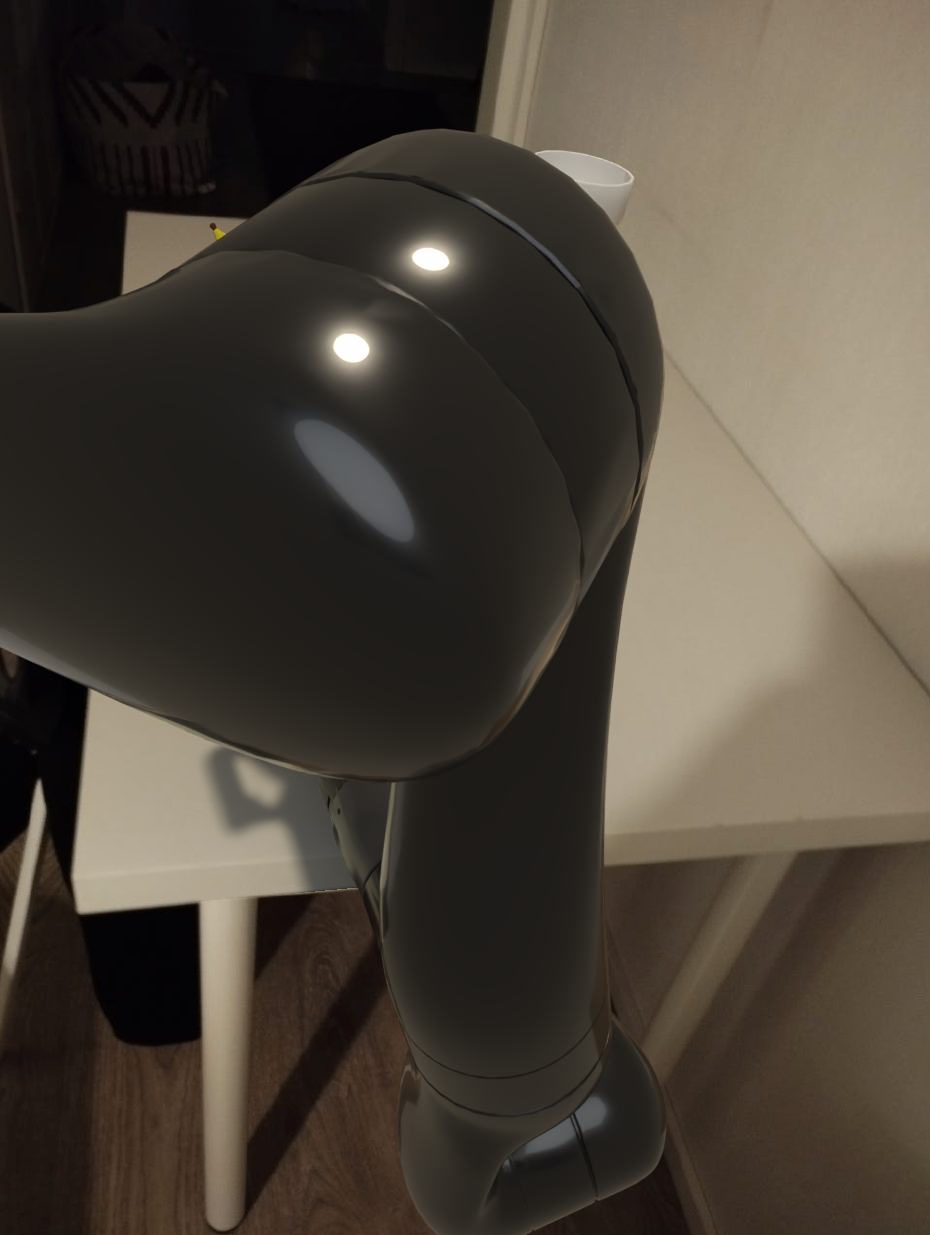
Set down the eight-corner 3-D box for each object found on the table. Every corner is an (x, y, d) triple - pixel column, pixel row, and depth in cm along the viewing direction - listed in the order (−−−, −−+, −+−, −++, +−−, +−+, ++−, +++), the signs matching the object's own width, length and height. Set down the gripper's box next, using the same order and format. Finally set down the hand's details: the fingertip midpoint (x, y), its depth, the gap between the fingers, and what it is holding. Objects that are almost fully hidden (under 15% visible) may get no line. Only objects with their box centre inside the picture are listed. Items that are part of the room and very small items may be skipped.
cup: (487, 299, 118) (515, 145, 107) (572, 302, 122) (608, 154, 111) (519, 343, 110) (553, 181, 99) (609, 344, 114) (652, 189, 103)
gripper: (543, 730, 51) (439, 542, 62) (267, 776, 46) (207, 562, 57) (514, 821, 56) (422, 632, 67) (261, 873, 50) (207, 658, 61)
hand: (323, 600), depth 62 cm, fingers open, 8 cm apart
